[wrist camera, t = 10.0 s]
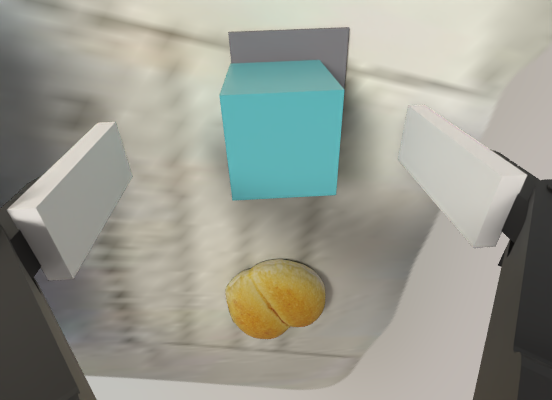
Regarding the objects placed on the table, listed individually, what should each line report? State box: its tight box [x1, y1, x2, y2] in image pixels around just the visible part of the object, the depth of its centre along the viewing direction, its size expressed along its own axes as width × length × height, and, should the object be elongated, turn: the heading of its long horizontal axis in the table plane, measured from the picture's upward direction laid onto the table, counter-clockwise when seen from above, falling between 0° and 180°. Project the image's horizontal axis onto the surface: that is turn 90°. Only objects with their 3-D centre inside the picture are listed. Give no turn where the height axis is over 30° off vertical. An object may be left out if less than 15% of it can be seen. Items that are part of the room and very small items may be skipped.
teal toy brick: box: [220, 60, 344, 200], centre depth 18 cm, size 5×5×7 cm
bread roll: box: [225, 259, 325, 339], centre depth 30 cm, size 8×9×4 cm
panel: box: [228, 27, 349, 89], centre depth 21 cm, size 7×6×1 cm
